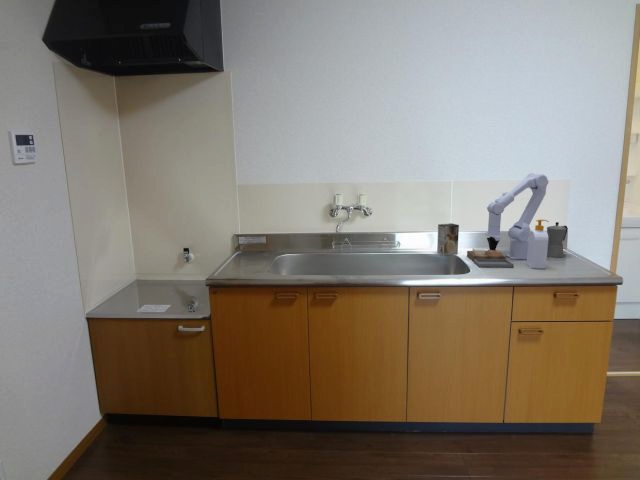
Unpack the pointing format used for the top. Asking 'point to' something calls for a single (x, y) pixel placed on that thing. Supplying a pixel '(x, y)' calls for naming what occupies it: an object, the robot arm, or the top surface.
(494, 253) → the terracotta tile
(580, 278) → the top surface
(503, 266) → the box
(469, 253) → the walnut plate
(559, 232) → the coffeepot
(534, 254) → the soap bottle
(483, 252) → the cream tile
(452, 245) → the coffee box
